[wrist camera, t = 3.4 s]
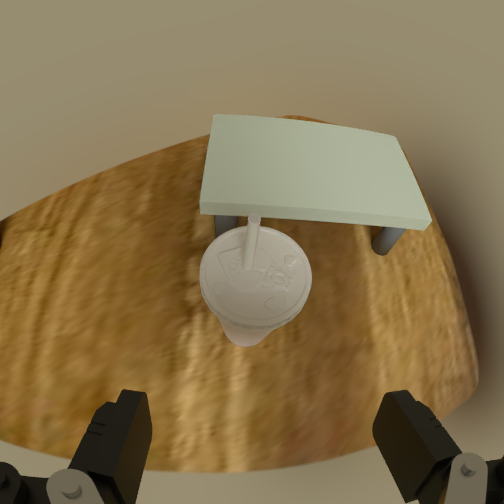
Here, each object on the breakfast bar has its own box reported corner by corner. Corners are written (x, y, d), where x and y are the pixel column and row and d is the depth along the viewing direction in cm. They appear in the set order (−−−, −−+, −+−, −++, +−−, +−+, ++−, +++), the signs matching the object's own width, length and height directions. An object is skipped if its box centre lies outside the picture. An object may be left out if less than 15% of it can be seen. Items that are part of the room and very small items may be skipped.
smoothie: (226, 279, 27) (230, 157, 16) (294, 307, 27) (349, 200, 15) (193, 343, 24) (163, 253, 12) (266, 375, 23) (314, 316, 11)
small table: (203, 251, 29) (199, 201, 23) (213, 163, 35) (213, 113, 29) (398, 260, 30) (432, 220, 24) (374, 178, 36) (395, 136, 30)
